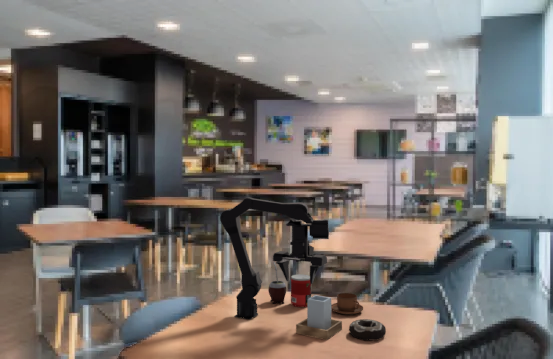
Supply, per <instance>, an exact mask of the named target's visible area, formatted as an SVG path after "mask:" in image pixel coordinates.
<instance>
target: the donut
mask: <svg viewBox="0 0 553 359" xmlns="http://www.w3.org/2000/svg"><path fill="white" fill-rule="evenodd" d="M386 330H387V329H386V326H385V325H384V324H383V323H382V322H380V321H378V320H374V319H371V318H370V319H368V318H362V319H356V320H353V321H352V322H351V323H349V327H348V331H349V334H351V335H352V337H354V338H356V339H359V340H362V341H363V340H364V341H377V340H380V339H382V338H384V336H385V335H386V333H387V331H386Z"/></svg>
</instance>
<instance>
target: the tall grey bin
mask: <svg viewBox="0 0 553 359" xmlns="http://www.w3.org/2000/svg"><path fill="white" fill-rule="evenodd" d="M331 305H332V297H329V296H323V295H318V294H314V295H313V296H312V295H311V297H310V298H309V299H308V303H307V307H306V308H307V310H306V311H307V313H306V314H307V316H306V319H307V326H309V327H314V328H319V329H324V330H327V329H329V328H330V327H331V319H332V309H331Z"/></svg>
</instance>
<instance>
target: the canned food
mask: <svg viewBox="0 0 553 359" xmlns="http://www.w3.org/2000/svg"><path fill="white" fill-rule="evenodd" d="M310 297H312V284H310V274H309V275H307V274H292V275H291V276H290V305H291V306H293V307H295V308H307V303H308V299H309V298H310Z"/></svg>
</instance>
